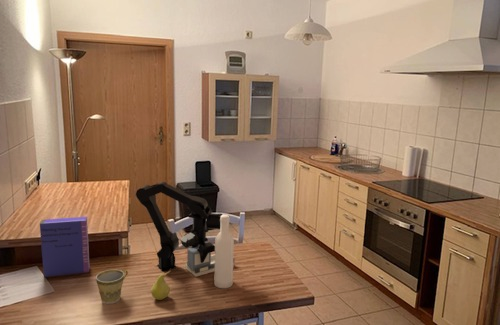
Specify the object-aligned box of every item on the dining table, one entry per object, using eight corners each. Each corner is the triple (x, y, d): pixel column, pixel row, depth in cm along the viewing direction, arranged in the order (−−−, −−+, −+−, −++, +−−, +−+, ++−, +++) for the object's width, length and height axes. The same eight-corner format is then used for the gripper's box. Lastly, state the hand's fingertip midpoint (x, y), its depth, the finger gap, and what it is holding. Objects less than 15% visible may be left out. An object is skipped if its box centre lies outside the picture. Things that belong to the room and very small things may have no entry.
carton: (187, 265, 167) (187, 248, 165) (205, 260, 172) (205, 244, 170) (192, 270, 163) (192, 253, 161) (210, 265, 168) (210, 248, 166)
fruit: (154, 293, 148) (153, 265, 146) (173, 294, 148) (172, 266, 146) (149, 302, 142) (148, 273, 139) (169, 303, 141) (168, 274, 139)
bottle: (236, 281, 159) (238, 214, 153) (227, 290, 152) (229, 220, 146) (219, 277, 162) (221, 211, 156) (210, 285, 155) (211, 217, 149)
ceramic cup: (108, 310, 136) (107, 284, 134) (91, 301, 141) (90, 276, 139) (136, 294, 147) (135, 270, 145) (119, 286, 152) (118, 263, 150)
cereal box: (89, 267, 167) (87, 216, 163) (88, 272, 163) (85, 219, 158) (46, 272, 162) (42, 219, 157) (43, 277, 157) (39, 223, 153)
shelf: (195, 276, 162) (195, 269, 161) (185, 267, 170) (185, 260, 169) (234, 265, 174) (234, 258, 173) (222, 257, 182) (222, 250, 181)
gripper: (173, 223, 167) (173, 256, 170) (192, 238, 152) (192, 273, 155) (195, 219, 173) (195, 251, 176) (216, 232, 158) (215, 266, 161)
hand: (199, 260), depth 167 cm, fingers closed on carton, 5 cm apart
